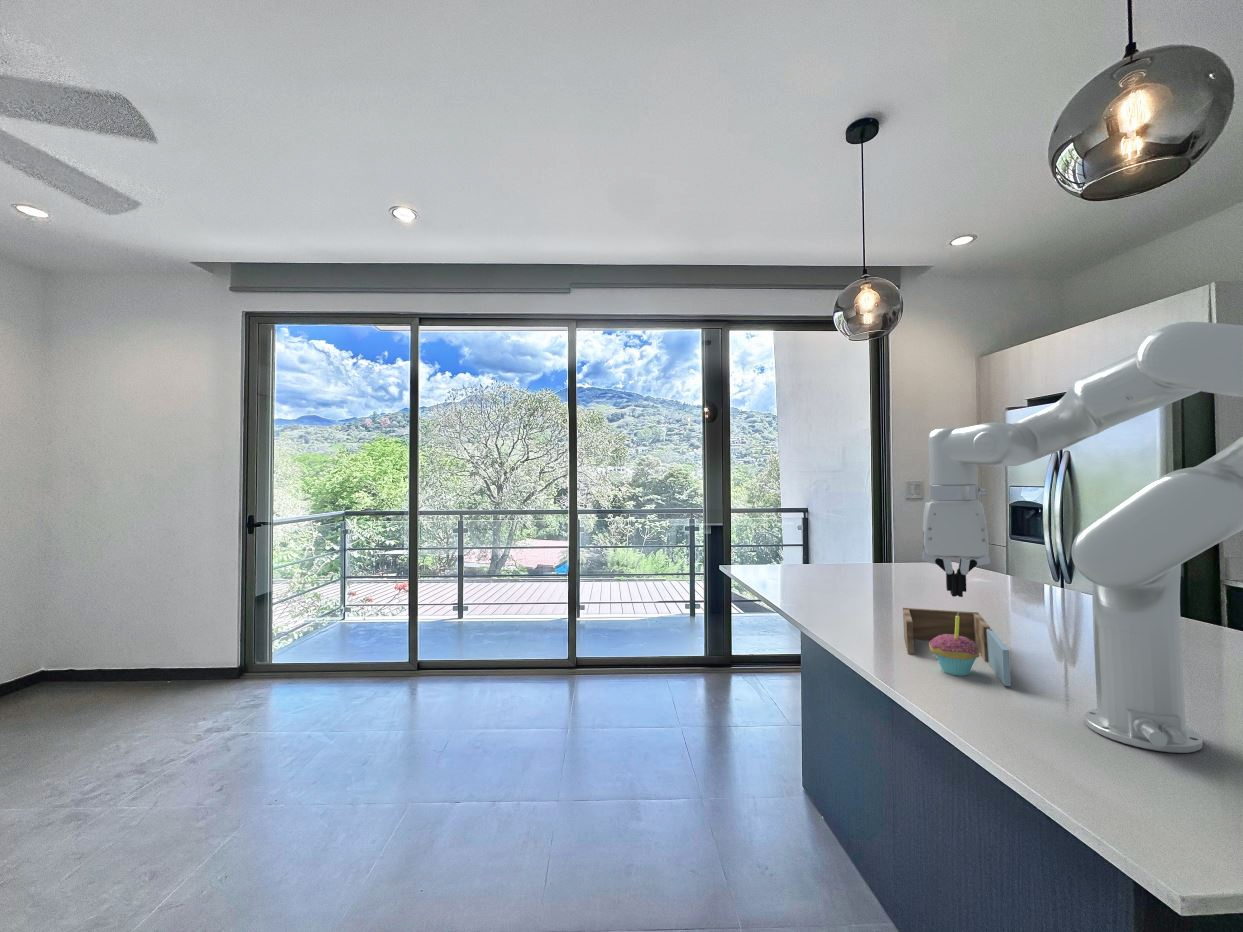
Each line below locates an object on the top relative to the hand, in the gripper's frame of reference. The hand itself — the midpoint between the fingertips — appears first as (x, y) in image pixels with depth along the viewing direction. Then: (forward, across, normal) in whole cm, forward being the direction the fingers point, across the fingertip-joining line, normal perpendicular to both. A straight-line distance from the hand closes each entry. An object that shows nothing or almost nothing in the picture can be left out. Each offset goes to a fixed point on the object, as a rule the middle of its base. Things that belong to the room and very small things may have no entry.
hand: (956, 595), depth 101 cm
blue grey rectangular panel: (+16, -8, -10) cm, 20 cm away
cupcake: (+17, 0, -9) cm, 19 cm away
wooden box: (+17, 0, -25) cm, 30 cm away
